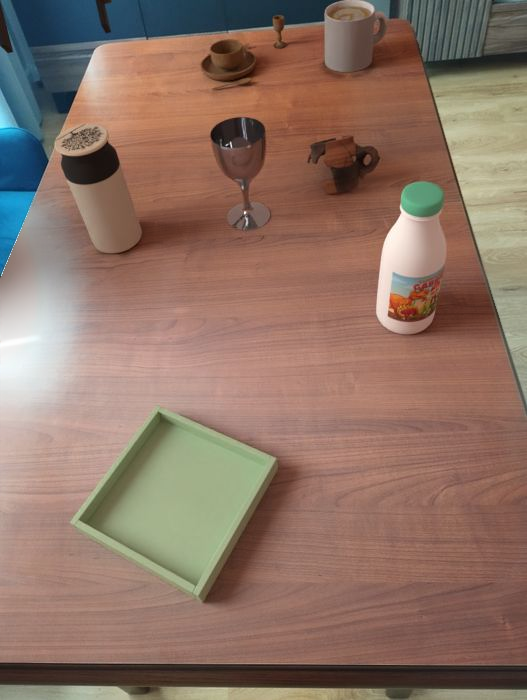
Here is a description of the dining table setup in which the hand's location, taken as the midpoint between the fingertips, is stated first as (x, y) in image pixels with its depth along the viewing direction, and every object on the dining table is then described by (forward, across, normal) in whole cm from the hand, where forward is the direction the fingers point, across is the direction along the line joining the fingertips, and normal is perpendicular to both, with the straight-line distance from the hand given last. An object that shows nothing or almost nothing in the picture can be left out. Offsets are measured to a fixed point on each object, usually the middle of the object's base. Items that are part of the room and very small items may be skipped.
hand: (56, 39), depth 78 cm
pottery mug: (+24, -38, -17) cm, 48 cm away
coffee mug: (-3, -51, -46) cm, 69 cm away
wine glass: (+27, -21, -13) cm, 36 cm away
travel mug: (+26, 0, -12) cm, 29 cm away
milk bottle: (+46, -38, +6) cm, 60 cm away
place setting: (-7, -28, -49) cm, 57 cm away
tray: (+58, -6, +22) cm, 63 cm away
